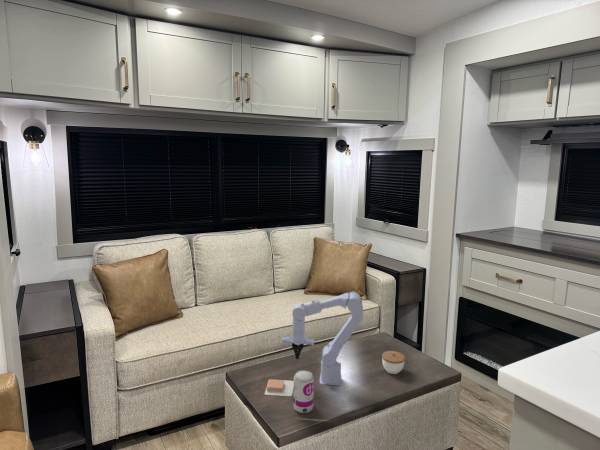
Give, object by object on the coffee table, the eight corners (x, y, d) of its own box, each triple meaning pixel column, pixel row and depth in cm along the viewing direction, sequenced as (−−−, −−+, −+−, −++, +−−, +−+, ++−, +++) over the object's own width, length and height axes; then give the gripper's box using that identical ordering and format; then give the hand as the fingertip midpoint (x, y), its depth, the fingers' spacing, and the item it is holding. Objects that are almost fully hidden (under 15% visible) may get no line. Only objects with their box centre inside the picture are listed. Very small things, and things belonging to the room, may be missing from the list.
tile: (284, 380, 185) (269, 379, 185) (282, 388, 179) (266, 387, 179) (284, 384, 185) (269, 383, 185) (282, 391, 179) (266, 390, 180)
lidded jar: (392, 379, 191) (393, 360, 189) (376, 368, 200) (377, 351, 198) (408, 372, 197) (409, 354, 195) (392, 363, 206) (393, 345, 204)
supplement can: (317, 409, 167) (317, 376, 165) (300, 416, 163) (301, 382, 160) (305, 400, 174) (306, 367, 171) (289, 406, 169) (289, 373, 167)
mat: (294, 382, 187) (294, 380, 187) (291, 397, 176) (291, 396, 176) (268, 380, 188) (268, 379, 188) (264, 395, 177) (264, 394, 177)
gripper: (281, 333, 183) (280, 361, 185) (313, 335, 182) (312, 363, 184) (283, 326, 190) (282, 353, 192) (314, 328, 189) (313, 356, 191)
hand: (297, 358), depth 189 cm, fingers closed
